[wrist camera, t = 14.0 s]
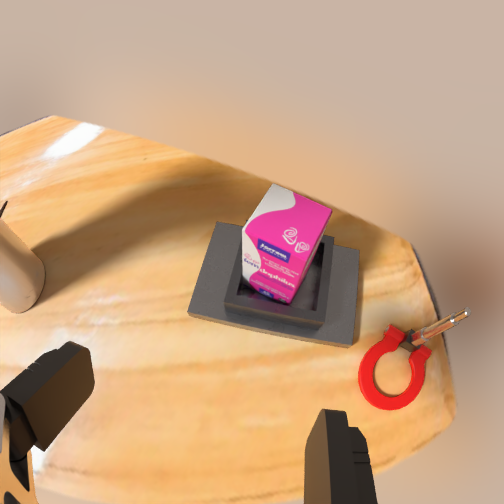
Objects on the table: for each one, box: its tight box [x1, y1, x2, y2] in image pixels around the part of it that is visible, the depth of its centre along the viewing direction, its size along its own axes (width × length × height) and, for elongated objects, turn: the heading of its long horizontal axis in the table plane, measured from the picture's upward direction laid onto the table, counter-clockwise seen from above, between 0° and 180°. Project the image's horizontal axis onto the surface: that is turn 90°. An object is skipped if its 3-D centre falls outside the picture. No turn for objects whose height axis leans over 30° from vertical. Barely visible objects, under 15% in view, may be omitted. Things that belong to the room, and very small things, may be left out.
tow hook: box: [358, 307, 471, 410], centre depth 24 cm, size 8×13×9 cm
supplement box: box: [242, 183, 332, 306], centre depth 29 cm, size 6×6×12 cm
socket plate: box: [187, 220, 359, 348], centre depth 33 cm, size 18×12×4 cm, turn 78°
